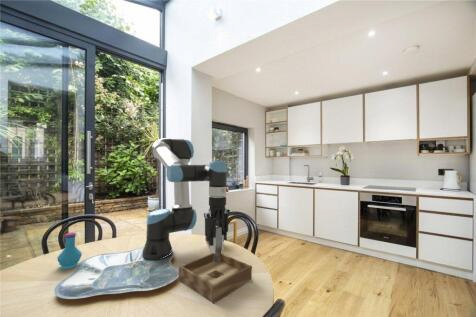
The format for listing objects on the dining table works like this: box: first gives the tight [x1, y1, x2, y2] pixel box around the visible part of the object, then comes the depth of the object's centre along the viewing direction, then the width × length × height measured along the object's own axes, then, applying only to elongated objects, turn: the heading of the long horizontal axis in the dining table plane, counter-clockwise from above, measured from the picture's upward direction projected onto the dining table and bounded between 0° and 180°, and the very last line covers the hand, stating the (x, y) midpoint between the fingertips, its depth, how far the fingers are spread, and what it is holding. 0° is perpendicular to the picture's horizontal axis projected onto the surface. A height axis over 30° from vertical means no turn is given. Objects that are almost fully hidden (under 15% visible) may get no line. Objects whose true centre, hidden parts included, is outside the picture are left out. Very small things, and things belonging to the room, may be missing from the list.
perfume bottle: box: [57, 232, 83, 270], centre depth 104 cm, size 9×9×15 cm
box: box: [178, 252, 253, 304], centre depth 94 cm, size 22×22×6 cm
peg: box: [211, 226, 222, 262], centre depth 94 cm, size 4×4×14 cm
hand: (216, 250), depth 94 cm, fingers closed on peg, 4 cm apart
